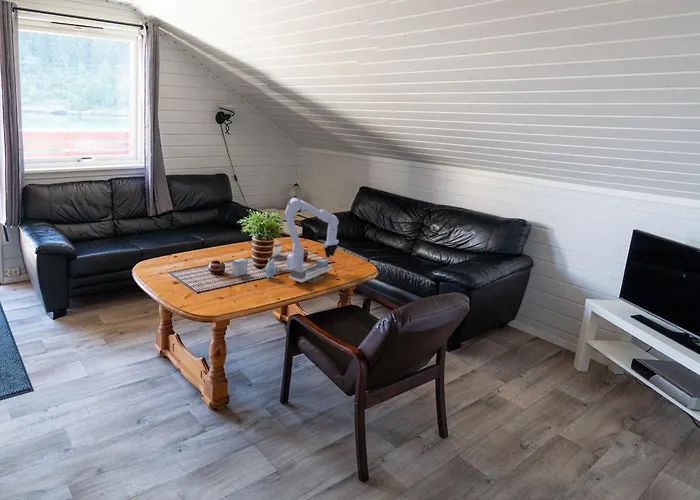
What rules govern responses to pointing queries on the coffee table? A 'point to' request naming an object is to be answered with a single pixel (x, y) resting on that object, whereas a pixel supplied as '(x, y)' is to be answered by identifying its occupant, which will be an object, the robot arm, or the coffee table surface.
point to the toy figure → (270, 268)
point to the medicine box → (239, 267)
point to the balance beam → (309, 273)
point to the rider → (322, 263)
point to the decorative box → (276, 247)
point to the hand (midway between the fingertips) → (329, 256)
